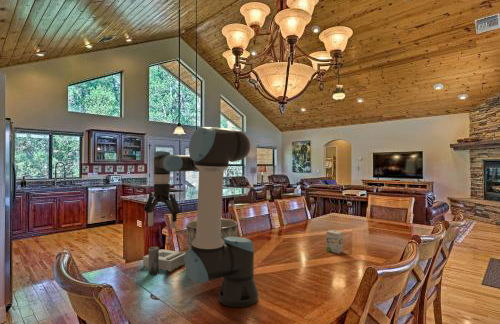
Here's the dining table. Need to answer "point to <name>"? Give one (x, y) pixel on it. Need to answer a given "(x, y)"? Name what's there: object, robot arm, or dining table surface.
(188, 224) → the planter
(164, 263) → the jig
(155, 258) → the metal cylinder
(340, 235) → the ink box
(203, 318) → the dining table surface
